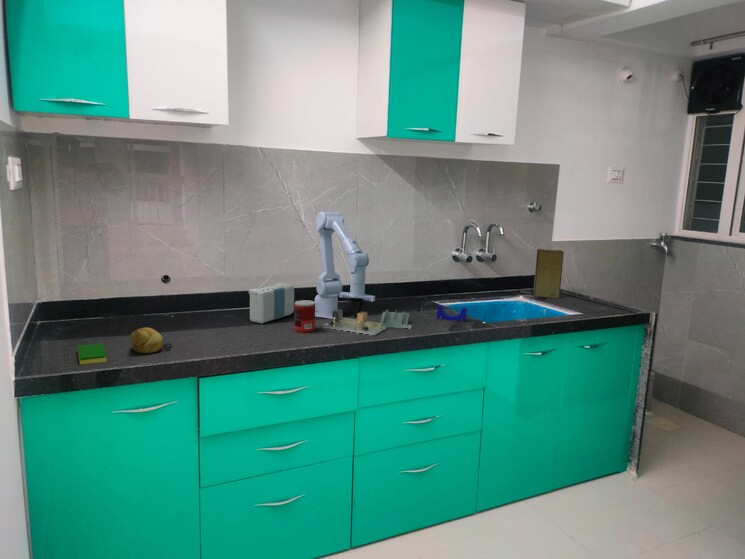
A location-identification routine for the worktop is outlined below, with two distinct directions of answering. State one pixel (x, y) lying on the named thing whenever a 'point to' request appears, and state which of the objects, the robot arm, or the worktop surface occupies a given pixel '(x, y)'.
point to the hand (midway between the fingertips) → (356, 317)
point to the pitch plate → (353, 324)
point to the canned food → (304, 316)
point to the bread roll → (146, 340)
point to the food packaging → (548, 273)
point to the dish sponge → (91, 354)
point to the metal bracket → (395, 319)
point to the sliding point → (361, 317)
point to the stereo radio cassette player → (271, 302)
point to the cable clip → (455, 317)
